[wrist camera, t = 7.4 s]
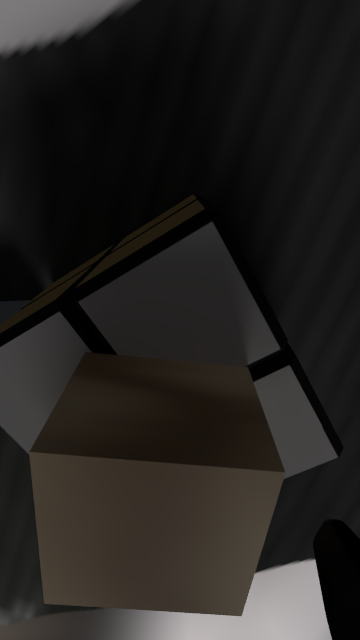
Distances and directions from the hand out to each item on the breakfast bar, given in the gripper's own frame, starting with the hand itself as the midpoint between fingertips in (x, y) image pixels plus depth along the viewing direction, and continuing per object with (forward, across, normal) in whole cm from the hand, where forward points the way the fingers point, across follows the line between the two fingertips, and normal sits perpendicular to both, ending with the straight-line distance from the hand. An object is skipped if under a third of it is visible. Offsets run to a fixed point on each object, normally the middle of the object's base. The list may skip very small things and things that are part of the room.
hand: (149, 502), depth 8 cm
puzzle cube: (+13, 0, 0) cm, 13 cm away
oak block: (+3, 0, 0) cm, 3 cm away
